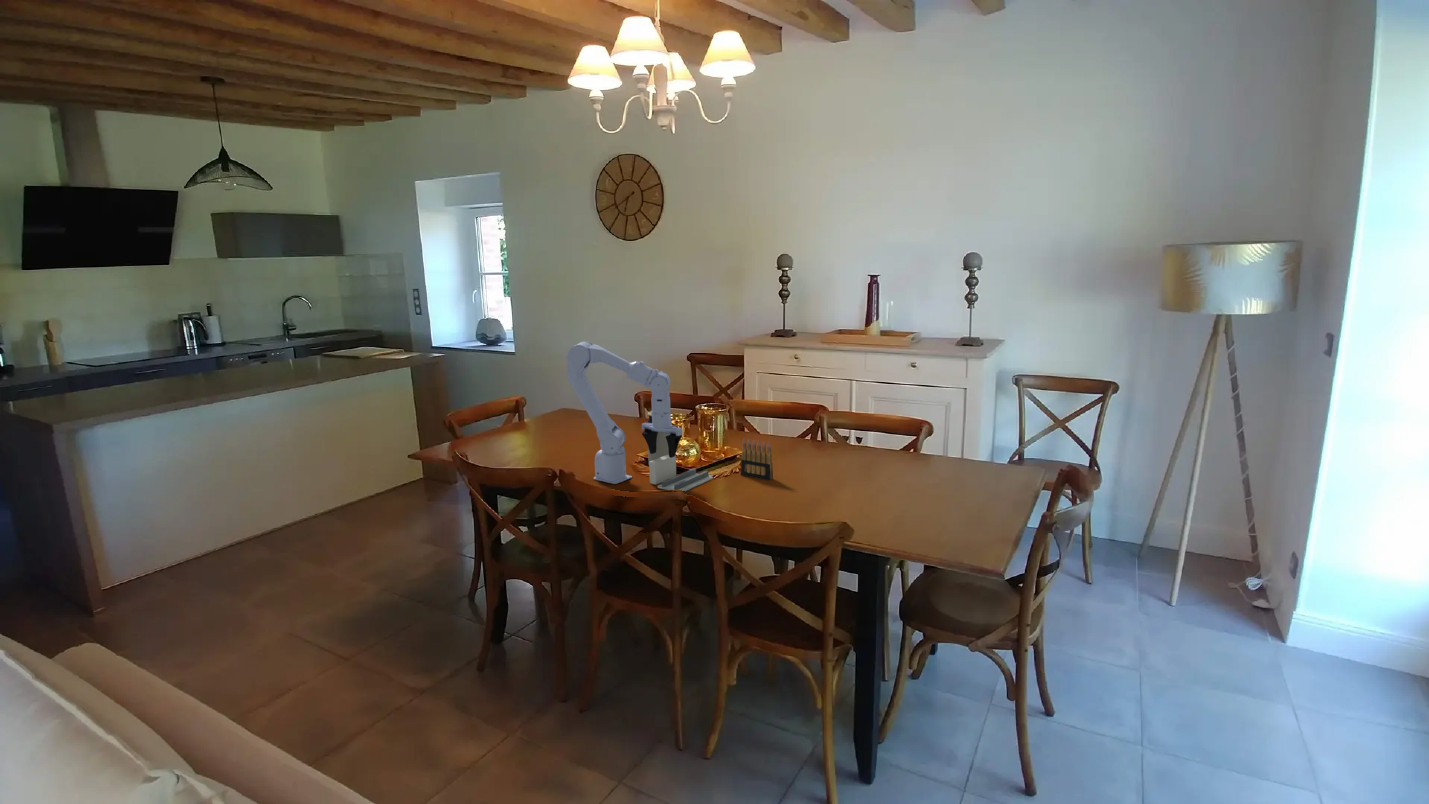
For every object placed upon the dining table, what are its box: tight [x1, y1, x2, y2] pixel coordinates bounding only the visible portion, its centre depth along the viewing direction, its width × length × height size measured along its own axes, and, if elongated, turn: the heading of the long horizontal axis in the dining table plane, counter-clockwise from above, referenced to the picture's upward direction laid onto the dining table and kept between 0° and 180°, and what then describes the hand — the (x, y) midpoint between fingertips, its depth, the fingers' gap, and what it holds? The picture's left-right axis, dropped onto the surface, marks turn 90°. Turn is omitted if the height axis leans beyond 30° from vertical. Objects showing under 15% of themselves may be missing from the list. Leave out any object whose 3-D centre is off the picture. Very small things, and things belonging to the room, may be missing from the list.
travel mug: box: [646, 410, 673, 463], centre depth 239 cm, size 8×8×18 cm
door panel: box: [648, 454, 677, 486], centre depth 226 cm, size 2×10×7 cm, turn 145°
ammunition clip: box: [740, 437, 774, 481], centre depth 227 cm, size 11×2×12 cm, turn 56°
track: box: [657, 468, 714, 492], centre depth 223 cm, size 9×16×2 cm, turn 145°
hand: (662, 455), depth 225 cm, fingers open, 7 cm apart
